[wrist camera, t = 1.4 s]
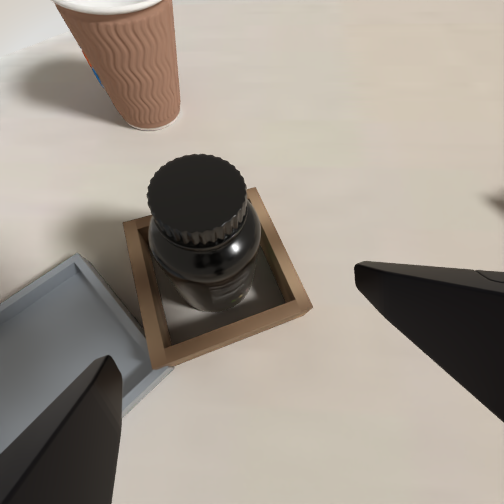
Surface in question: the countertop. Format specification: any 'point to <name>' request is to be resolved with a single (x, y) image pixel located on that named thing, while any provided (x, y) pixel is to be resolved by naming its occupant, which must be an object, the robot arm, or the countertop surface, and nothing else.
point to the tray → (66, 343)
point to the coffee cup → (130, 55)
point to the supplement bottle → (204, 230)
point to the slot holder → (218, 338)
